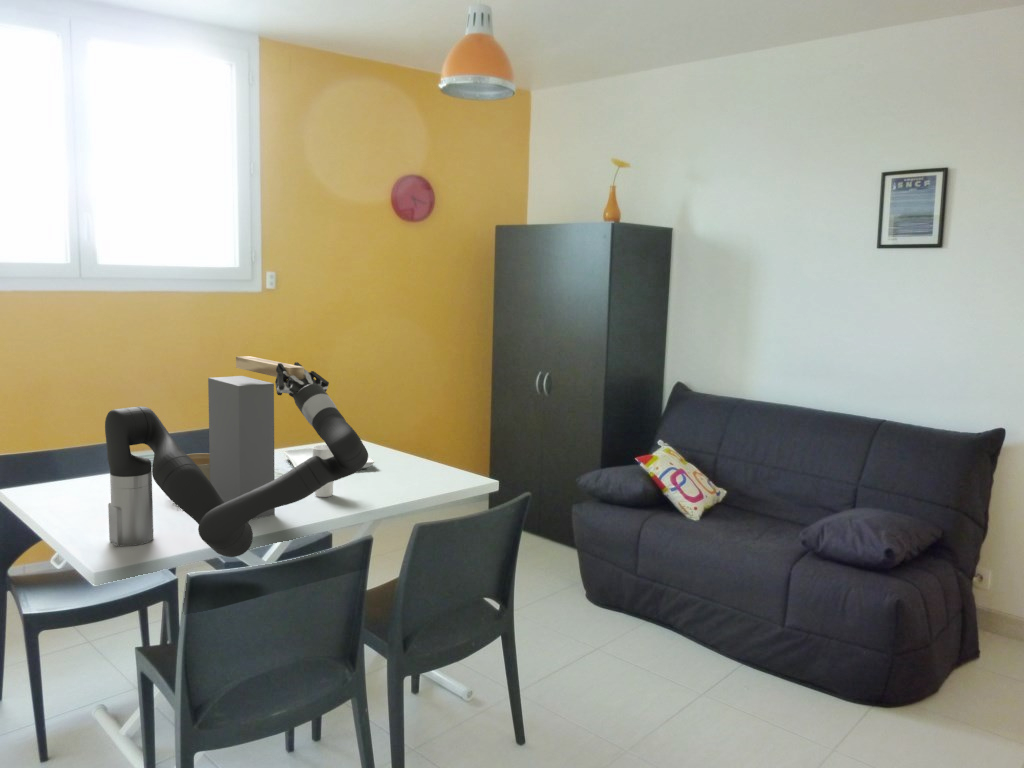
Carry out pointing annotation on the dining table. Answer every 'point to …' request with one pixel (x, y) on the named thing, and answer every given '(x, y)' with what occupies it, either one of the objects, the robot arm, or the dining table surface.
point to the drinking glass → (324, 454)
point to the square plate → (309, 456)
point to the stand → (241, 435)
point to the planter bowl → (202, 462)
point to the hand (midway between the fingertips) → (287, 365)
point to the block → (267, 366)
